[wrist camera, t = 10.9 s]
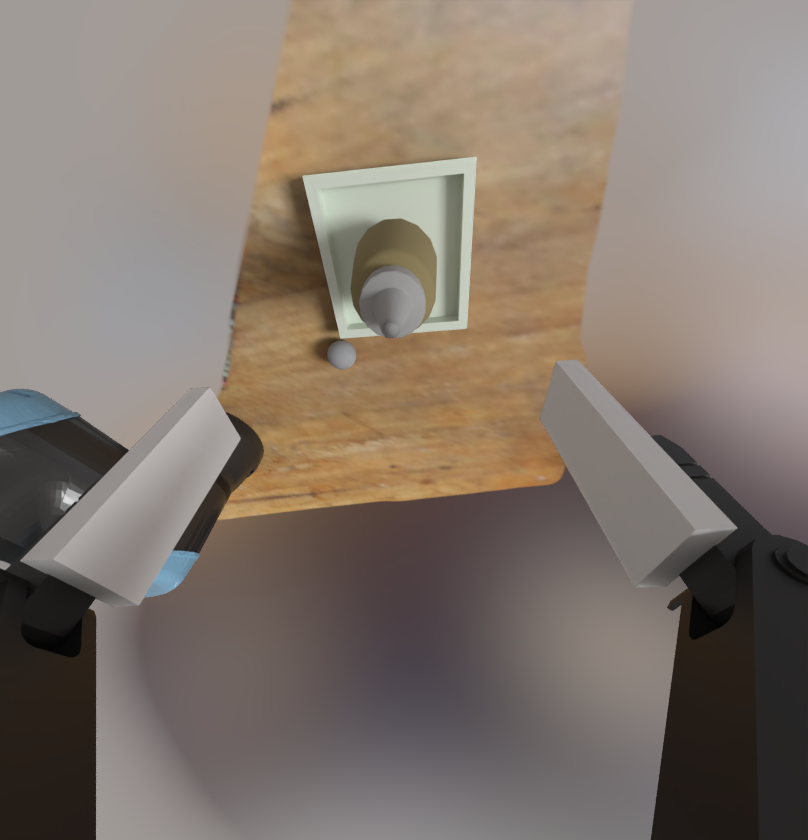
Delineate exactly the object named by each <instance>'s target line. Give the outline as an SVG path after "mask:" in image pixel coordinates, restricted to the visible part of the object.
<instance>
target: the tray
mask: <svg viewBox="0 0 808 840" xmlns="http://www.w3.org/2000/svg"><path fill="white" fill-rule="evenodd" d="M476 161H477V157H469V158H460V159H451V160H442V161H433V162H424V163H415V164H406V165H396V166H387V167H378V168H369V169H360V170H351V171H342V172H333V173H323V174H314V175H305V176H302V177H303V181H304V185H305V190H306V194H307V198H308V202H309V207H310V211H311V215H312V219H313V224H314V228H315V232H316V236H317V241H318V245H319V249H320V253H321V258H322V262H323V266H324V270H325V275H326V279H327V283H328V288H329V292H330V296H331V300H332V305H333V309H334V313H335V317H336V322H337V326H338V330H339V334H340V339H341V338H354V337H367V336H379V335H377V334H376V333H375V332H373V331H372V330H371V329H370V328H369V327H367V325H366V323H364V322H363V321H362V320H361V318H360V317H359V315H358V313H357V311H356V310H355V308H354V306H353V301H352V295H351V289H350V288H351V280H352V271H353V263H354V258H355V253H356V249H357V244H358V242H359V241H360V240H361V238H362V237H363V235H364V234H365V232H366V231H367V229H368V228H370V227H372V226H373V225H375V224H377V223H379V222H380V221H382V220H385V219H400V218H402V219H404V220H406V221H409V222H411V223H413V224H416V225H418V226H419V227H420V228H421V229H422V230H423V231H424V233H425V234H426V235H427V236H428V237H429V238H430V239H431V242H432V245H433V247H434V250H435V253H436V256H437V277H436V301H435V304H434V306H433V308H432V311H431V313H430V316H429V317H428V318H427V319H426V320H425V321H424V323H423V324H422V325H421V326H420V327H419V328H417V329H415V330H414V331H413V332H412V333H417V332H430V331H442V330H455V329H467V318H468V300H469V283H470V265H471V248H472V231H473V213H474V196H475V178H476Z"/></svg>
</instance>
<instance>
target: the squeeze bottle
mask: <svg viewBox="0 0 808 840" xmlns="http://www.w3.org/2000/svg"><path fill="white" fill-rule="evenodd" d="M436 277H437V256H436V253H435V250H434V247H433V245H432V242H431V239H430V238H429V237H428V236H427V235H426V234H425V233H424V231H423V230H422V229H421V228H420V227H419V226H418V225H416V224H413V223H411V222H409V221H406V220H404V219H402V218H400V219H385V220H382V221H380V222H379V223H377V224H375V225H373V226H372V227H370V228H368V229H367V231H366V232H365V234H364V235H363V237H362V238H361V240H360V241H359V242H358V244H357V249H356V253H355V258H354V263H353V271H352V280H351V288H350V289H351V295H352V301H353V306H354V308H355V310H356V311H357V313H358V315H359V317H360V318H361V320H362V321H363V322H364V323H366V325H367V327H369V328H370V329H371V330H372V331H373V332H375V333H376V334H377V335H380V336H383V337H386V338H402V337H404V336H406V335H408V334H410V333H412V332H413V331H414V330H415V329H417V328H419V327H420V326H421V325H422V324H423V323H424V321H425V320H426V319H427V318H428V317H429V316H430V313H431V311H432V308H433V306H434V304H435V301H436Z"/></svg>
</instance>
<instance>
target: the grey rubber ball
mask: <svg viewBox="0 0 808 840" xmlns="http://www.w3.org/2000/svg"><path fill="white" fill-rule="evenodd" d="M327 357H328V360H329V362H330V363H331V365H332V366H334V367H335V368H337V369H347V368H349V367H351V366H352V365H353V364H354V362H355V360H356V351H355V349H354V347H353V346H352V345H351V344H350V343H349V342H347V341H343V340H339V341H336V342H334V343H332V344H331V345H330V347H329V348H328V352H327Z"/></svg>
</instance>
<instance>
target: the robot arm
mask: <svg viewBox="0 0 808 840" xmlns="http://www.w3.org/2000/svg"><path fill="white" fill-rule="evenodd" d="M80 416H81V415H80V414H79V413H77V412H72V411H70V410H69V409H67V408H65V407H64V406H62V405H60V404H59V403H57V402H56V401H54V400H52V399H50V398H49V397H47V396H46V395H44V394H42V393H40V392H37V391H34V390H29V389H13V390H7V391H4V392H0V840H96V615H95V612H94V611H93V610H91V609H88V608H89V607H90V605H91V604H92V602H93V601H94V600H95V599H98V600H100V601H102V602H104V603H106V604H108V605H110V606H112V607H115V606H138V605H139V604H140V603H141V601H142V599H143V598H144V597H151V596H157V595H161V594H165V593H167V592H169V591H171V590H173V589H174V588H176V587H177V586H178V585H179V584H180V583H181V582H182V581H183V579H184V578H185V576H186V575H187V573H188V571H189V570H190V568H191V567H192V565H193V564H194V562H195V560H197V559H198V557H199V553H200V551H201V549H202V547H203V545H204V543H205V541H206V540H207V538H208V536H209V534H210V532H211V530H212V528H213V526H214V524H215V523H216V521H217V519H218V517H219V515H220V513H221V511H222V509H223V507H224V506H225V504H226V502H227V500H228V498H229V496H230V495H231V493H232V492H233V491H234V490H235V489H236V488H237V487H238V486H239V485H240V484H241V483H242V482H243V481H244V480H245V479H246V478H247V477H249V476H250V475H252V474H253V473H254V472H255V470H256V469H257V467H258V466H259V464H260V462H261V460H262V457H263V452H264V450H263V445H262V442H261V440H260V439H259V437H258V436H257V434H256V433H255V432H254V431H253V430H252V429H251V428H250V427H249V426H248V425H247V424H245V423H244V422H243V421H241V420H239V419H238V418H236V417H234V416H232V415H230V414H228V413H225V411H224V409H223V408H222V406H221V404H220V403H219V401H218V400H217V398H216V396H215V395H214V393H213V391H212V390H211V388H210V387H203V388H191V389H190V390H189V391H188V392H187V393H186V394H185V395H184V396H183V397H182V398H181V399H180V400H179V401H178V402H177V403H176V404H175V405H174V406H173V407H172V408H171V409H170V410H169V411H168V412H167V413H166V414H165V415H164V416H163V417H162V418H161V419H160V420H159V421H158V422H157V423H156V424H155V425H154V426H153V427H152V428H151V429H150V430H149V431H148V432H147V433H146V434H145V435H144V436H143V437H142V438H141V439H140V440H139V441H138V442H137V444H135V445H134V446H133V447H132V448H131V449H130V450H128V449H126V448H125V447H123V446H122V445H120V444H119V443H117V442H116V441H114V440H113V439H112V438H110V437H109V436H107V435H106V434H104V433H103V432H101V431H100V430H98V429H97V428H95V427H93V426H92V425H91V424H90V423H88V422H87V421H85V420H84V419H82V418H81V417H80ZM540 420H541V422H542V424H543V426H544V427H545V429H546V431H547V433H548V434H549V436H550V438H551V440H552V441H553V443H554V445H555V447H556V449H557V450H558V452H559V454H560V456H561V457H562V459H563V461H564V463H565V464H566V466H567V468H568V470H569V472H570V473H571V475H572V477H573V479H574V480H575V482H576V484H577V485H578V488H579V489H580V491H581V493H582V495H583V496H584V498H585V500H586V502H587V503H588V505H589V507H590V509H591V510H592V512H593V514H594V516H595V518H596V519H597V521H598V523H599V525H600V526H601V528H602V530H603V532H604V533H605V535H606V537H607V539H608V541H609V542H610V544H611V546H612V548H613V549H614V551H615V553H616V555H617V557H618V558H619V560H620V562H621V564H622V565H623V567H624V569H625V571H626V572H627V574H628V576H629V578H630V580H631V581H632V583H633V585H634V587H658V586H667V585H669V584H670V583H671V582H672V581H674V580H675V579H676V578H677V577H678V576H680V577H681V578H682V580H683V581H684V583H685V584H686V585H687V587H688V589H686V590H685V591H683V592H682V593H681V594H679V595H678V596H677V597H675V598H674V599H673V600H671V601H670V603H669V605H668V607H667V608H668V609H670V610H672V611H673V610H675V609H676V608H677V607H679V606H680V605H681V614H680V621H679V628H678V637H677V644H676V651H675V659H674V667H673V674H672V682H671V690H670V697H669V705H668V712H667V720H666V728H665V735H664V743H663V751H662V759H661V766H660V774H659V782H658V789H657V797H656V804H655V812H654V819H653V827H652V835H651V840H808V546H807V545H805V544H803V543H801V542H799V541H797V540H793V539H790V538H786V537H783V536H780V535H771V533H770V532H768V531H767V530H766V529H764V528H763V526H762V525H761V524H759V522H758V521H756V520H755V519H754V518H753V517H752V516H751V515H750V514H749V513H748V512H747V511H746V510H745V509H744V508H743V507H742V506H741V505H740V504H739V503H738V502H737V501H736V500H735V499H734V498H733V497H732V496H731V495H730V494H729V493H728V492H727V491H726V490H725V489H724V488H723V487H722V486H721V485H719V483H717V482H716V481H715V480H714V479H713V478H712V479H711V478H710V475H709V474H708V473H707V472H706V471H705V470H704V469H703V468H702V467H701V466H698V465H697V462H696V461H695V460H694V459H693V458H692V457H691V456H690V455H689V454H687V452H686V451H685V450H684V449H683V448H681V447H680V446H678V445H676V444H675V443H673V442H671V441H670V440H668V439H667V438H665V437H663V436H661V435H658V436H650V435H649V434H648V433H647V432H646V431H645V430H644V429H643V428H642V427H641V426H640V425H639V424H638V423H637V422H636V421H635V420H634V419H633V418H632V416H631V415H630V414H629V413H628V412H627V411H626V410H625V409H624V408H623V407H622V406H621V405H620V404H619V403H618V402H617V401H616V400H615V399H614V398H613V396H612V395H611V394H610V393H609V392H608V391H607V390H606V389H605V388H604V387H603V386H602V385H601V384H600V383H599V382H598V381H597V380H596V379H595V378H594V377H593V376H592V374H591V373H590V372H589V371H588V370H587V369H586V368H585V367H584V366H583V365H582V364H581V363H580V362H579V361H578V360H566V361H556V363H555V366H554V370H553V374H552V377H551V381H550V384H549V388H548V392H547V395H546V399H545V402H544V406H543V409H542V413H541V417H540Z"/></svg>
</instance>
